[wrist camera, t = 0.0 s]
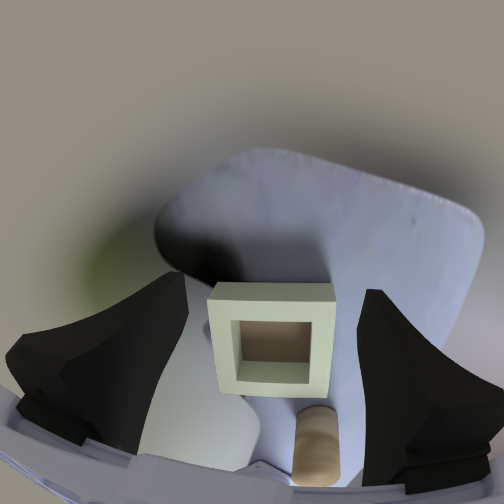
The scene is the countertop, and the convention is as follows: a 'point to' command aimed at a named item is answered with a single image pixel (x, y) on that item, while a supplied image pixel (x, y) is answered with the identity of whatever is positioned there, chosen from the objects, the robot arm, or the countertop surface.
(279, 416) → the countertop surface
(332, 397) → the countertop surface
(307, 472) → the peg
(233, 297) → the socket
